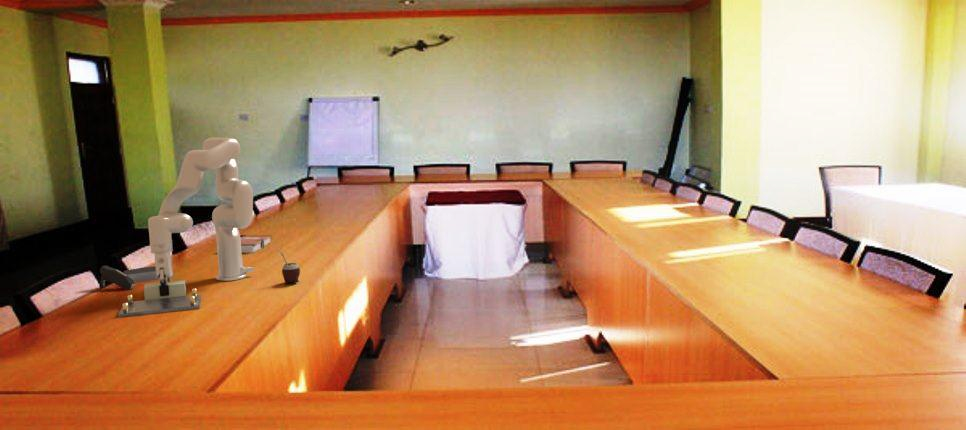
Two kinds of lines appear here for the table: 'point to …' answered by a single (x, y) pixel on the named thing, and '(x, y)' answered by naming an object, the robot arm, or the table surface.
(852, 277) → the table surface
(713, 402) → the table surface
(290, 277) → the mate gourd
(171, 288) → the pale grey rectangular block
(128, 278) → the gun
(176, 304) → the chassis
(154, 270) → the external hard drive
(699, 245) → the table surface
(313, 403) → the table surface
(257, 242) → the book
